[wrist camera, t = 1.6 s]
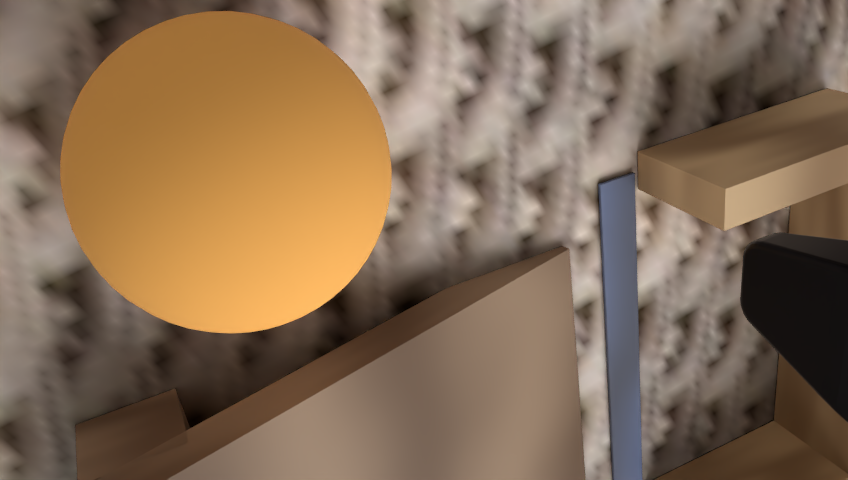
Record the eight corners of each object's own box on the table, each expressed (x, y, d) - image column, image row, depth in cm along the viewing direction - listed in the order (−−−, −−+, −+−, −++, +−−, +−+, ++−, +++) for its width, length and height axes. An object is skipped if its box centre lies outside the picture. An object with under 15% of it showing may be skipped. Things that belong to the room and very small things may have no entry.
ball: (115, 292, 18) (138, 447, 13) (12, 31, 15) (-9, 96, 10) (357, 215, 19) (464, 323, 14) (306, -32, 17) (414, -4, 12)
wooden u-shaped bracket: (614, 522, 29) (711, 629, 24) (597, 165, 22) (725, 226, 18) (794, 432, 31) (909, 514, 27) (827, 88, 25) (986, 126, 20)
